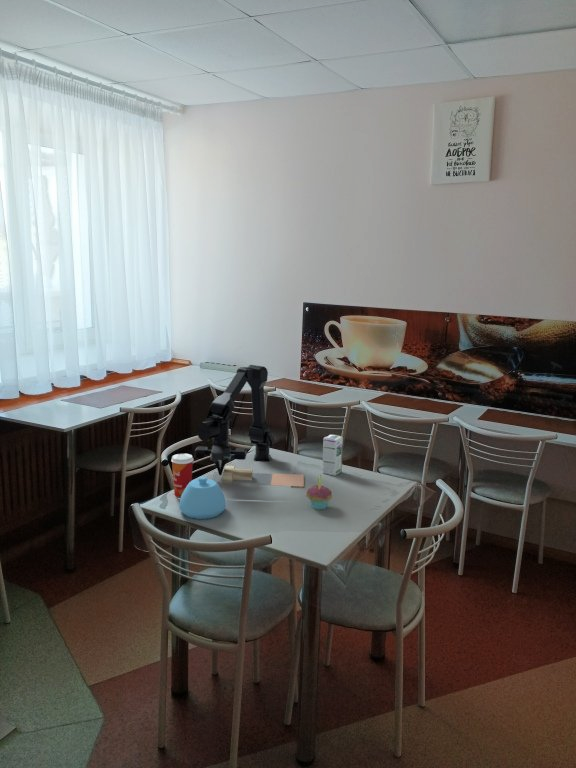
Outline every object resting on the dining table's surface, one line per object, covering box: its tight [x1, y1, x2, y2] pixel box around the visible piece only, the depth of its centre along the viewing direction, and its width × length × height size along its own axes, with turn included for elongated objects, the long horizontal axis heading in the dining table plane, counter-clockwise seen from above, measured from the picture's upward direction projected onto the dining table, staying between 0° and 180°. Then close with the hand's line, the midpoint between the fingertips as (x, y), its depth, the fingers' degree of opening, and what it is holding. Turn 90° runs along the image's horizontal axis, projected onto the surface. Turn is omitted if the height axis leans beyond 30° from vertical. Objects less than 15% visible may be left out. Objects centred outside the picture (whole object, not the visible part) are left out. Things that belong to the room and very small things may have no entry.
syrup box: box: [322, 434, 344, 476], centre depth 243 cm, size 6×6×14 cm
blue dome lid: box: [178, 476, 227, 520], centre depth 204 cm, size 15×15×12 cm
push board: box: [211, 471, 305, 488], centre depth 234 cm, size 12×34×1 cm, turn 89°
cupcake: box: [306, 474, 333, 510], centre depth 210 cm, size 9×8×12 cm
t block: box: [222, 465, 254, 483], centre depth 234 cm, size 10×10×3 cm
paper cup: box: [170, 453, 195, 499], centre depth 216 cm, size 8×8×14 cm
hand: (220, 474), depth 234 cm, fingers closed
